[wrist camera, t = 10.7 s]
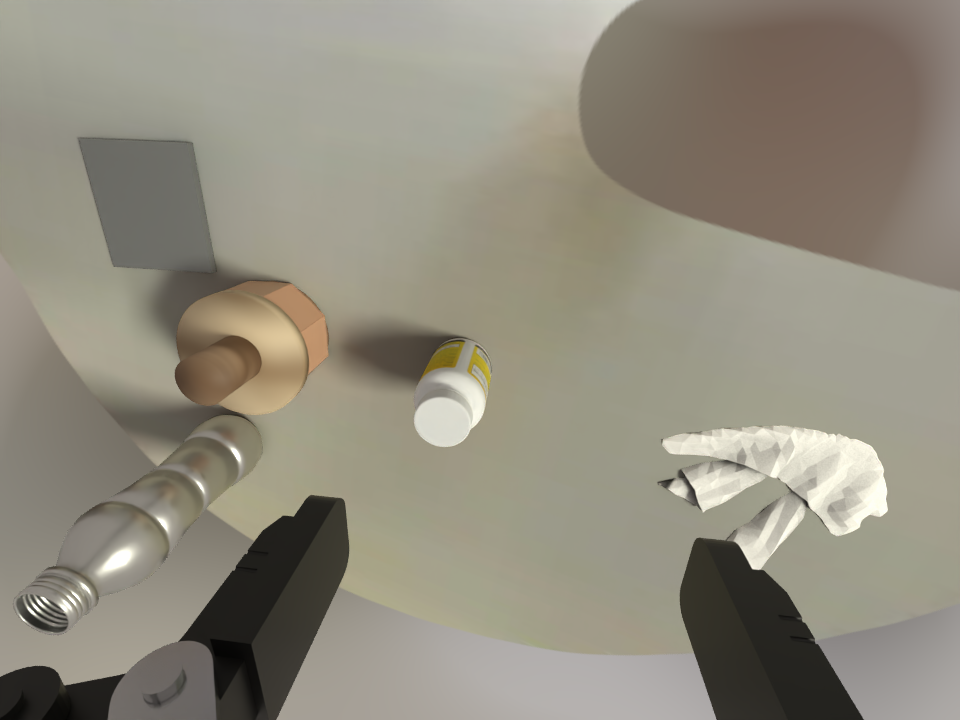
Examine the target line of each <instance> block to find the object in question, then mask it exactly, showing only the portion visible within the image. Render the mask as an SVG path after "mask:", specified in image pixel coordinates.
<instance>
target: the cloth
mask: <svg viewBox="0 0 960 720" xmlns="http://www.w3.org/2000/svg"><path fill="white" fill-rule="evenodd" d="M662 445H663V446H664V448H665V449H666V450H667V451H668V452H669V453H671V454H692V455H703V456H712V457H716V458H720V459H726V460H724V461H712V462H704V463H699V464H696V465H692V466H689V467H686V468H682V469H681V470H682V471H683V473H684V474H685V477H684V478H674V479H673V481H671V480H668V481H663V482H660V483H658V485H662V486H663V487H665V488H667V489H668V490H670V491H671V492H673V493H674V494H676V495H678V496H680V497H683V498H685V499H686V500H688V501H689V502H691V503H693V504H695V505H697V506H698V508H699V509H700V510H701V511H702V512H703V513H704V512H705V511H706V510H707V509H709V508H712V507H715V506H717V505H720V504H722V503H724V502H726V501H727V500H729V499H731V498H732V497H734V496H736V495H737V494H739V493H740V492H742V491H743V490H744V489H745V488H747V487H750V486H752V485H754V484H756V483H758V482H761V481H762V480H763V479H764V478H766V477H767V476H771V477H773V478H777V477H778V478H779V479H780V480H781V481H782V482H784V483H786V484H787V485H788V486H789V487H790V489H791V490H792V492H790V493H788V494H786V495H784V496H782V497H780V498H779V499H777V500H776V501H774V502H772V503H771V504H770V505H769V506H768V507H766V508H765V509H764V510H763V511H762V512H761V513H759V514H758V515H756V516H755V517H754V518H753V519H752V520H751V522H749V523H747V524H745V525H743V526H741V527H739V528H737V529H736V530H735V531H734V533H733V534H732V535H731V536H730V537H729V538H728V539H727V540H726V541H734V542H736V543H737V544H738V545H739V546H740V548H741V549H742V551H743V553H744V555H745V557H746V558H747V560H748V562H749V564H750V566H751V567H752V569H756V570H760V569H761V568H762V566H763V565H764V564H765V562H766V561H767V560H768V558H769V557H770V556H771V555H772V553H773V552H774V551H775V550H776V549H777V547H778V546H779V545H780V544H781V543H782V542H783V541H784V540H785V539H786V538H787V537H788V536H789V535H790V534H791V532H792V531H793V530H794V529H795V528H796V527H797V525H798V524H799V523H800V522H801V520H802V519H803V518H804V514H805V510H806V506H807V505H808V507H809V508H810V509H812V510H813V511H814V512H815V513H816V514H817V515H818V516H819V517H820V518H821V519H822V520H823V522H824V524H825V525H826V526H827V528H828V529H829V531H830V533H832V534H834V535H836V536H840V535H844V534H847V533H850V532H852V531H854V530H856V529H857V528H859V527H860V523H861V521H862V520H863V518H865V517H867V516H868V515H873V516H878V517H881V516H882V515H884V514H885V513H886V512H887V511H888V509H887V503H886V495H887V488H886V483H885V479H884V477H883V472H884V469H883V467H882V464H881V462H880V461H879V459H878V457H877V454H876V452H875V451H874V450H873V448H872V446H870V445H868V444H865V443H863V442H861V441H859V440H857V439H849V438H847V437H846V436H842V435H840V434H838V435H837V436H835V435H834V434H830V435H827V434H826V433H825V432H820V431H818V430H816V431H815V430H807V429H805V428H797V427H790V426H783V425H782V426H769V427H767V426H761V427H758V426H752V427H748V428H743V427H741V428H730V429H725V428H719V429H715V430H710V431H706V432H700V433H691V434H687V433H684V434H680V435H675V436H671V437H667V438H664V439H663V443H662Z"/></svg>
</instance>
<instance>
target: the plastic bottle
mask: <svg viewBox="0 0 960 720" xmlns="http://www.w3.org/2000/svg"><path fill="white" fill-rule="evenodd" d="M262 449H263V446H262V438H261V435H260V433H259V431H258V430H257V428H256V427H255V426H254V425H253V424H252V423H251V422H249V421H248V420H246V419H244V418H242V417H239V416H233V415H219V416H216V417H213V418H211V419H209V420H207V421H205V422H203V423H202V424H200V425H199V426H198V427H197V428H196V429H195V430H194V431H193V432H192V433H191V434H190V435H189V436H188V437H187V438H186V439H185V441H184V442H183V443H182V445H181V446H180V447H179V448H177V449H176V450H175V451H174V452H173V453H172V454H171V455H170V456H169V457H168V458H167V459H166V460H165V461H163V462H162V463H161V464H160V465H159V466H157V467H156V468H155V469H153V470H152V471H151V472H150V473H148V474H146V475H145V476H143V477H142V478H140V479H139V480H138V481H136V482H135V483H133V484H132V485H131V486H129V487H127V488H125V489H124V490H122V491H120V492H119V493H117V494H115V495H114V496H112V497H110V498H108V499H107V500H105V501H103V502H102V503H100V504H98V505H96V506H95V507H93V508H92V509H90V510H89V511H87V512H86V513H84V514H83V515H81V516H80V517H79V518H78V519H77V520H76V522H75V523H74V524H73V525H72V527H71V528H70V529H69V530H68V532H67V534H66V536H65V539H64V541H63V544H62V546H61V549H60V552H59V556H58V560H57V564H56V566H53V567H49V568H47V569H45V570H44V571H43V572H42V573H40V574H39V575H38V576H37V577H36V579H35V580H34V581H33V582H32V583H31V584H30V585H28V586H27V587H26V588H25V589H23V590H22V591H21V592H20V593H19V594H18V595H17V596H16V597H15V598H14V601H13V607H14V610H15V612H16V614H17V615H18V617H19V618H20V619H21V620H22V621H23V622H24V623H26V624H27V625H28V626H30V627H31V628H33V629H35V630H37V631H39V632H42V633H45V634H49V635H60V634H64V633H66V632H67V631H68V630H70V629H71V628H72V627H73V626H74V625H75V624H76V623H77V622H78V621H79V620H80V619H81V618H82V617H83V616H84V615H86V614H88V613H89V612H90V611H91V610H92V609H93V608H94V607H95V606H96V605H97V603H98V600H99V597H102V596H105V595H109V594H113V593H116V592H119V591H122V590H125V589H127V588H130V587H133V586H135V585H137V584H139V583H141V582H142V581H144V580H145V579H147V578H148V577H150V576H152V575H153V574H154V573H155V572H156V571H157V570H158V569H159V567H160V566H161V565H162V564H163V562H164V561H165V560H166V558H167V557H168V556H169V554H170V553H171V552H172V550H173V549H174V547H175V546H176V545H177V543H178V542H179V541H180V539H181V538H182V537H183V535H184V534H185V532H186V531H187V530H188V529H189V527H190V526H191V525H192V524H193V523H194V522H195V521H196V520H197V518H198V517H199V516H200V515H201V514H202V513H203V511H204V510H205V509H206V508H207V507H208V506H209V505H210V504H211V503H212V502H213V501H214V500H216V499H217V498H218V497H219V496H220V495H221V494H223V493H224V492H225V491H226V490H227V489H228V488H229V487H231V486H233V485H234V484H236V483H237V482H239V481H240V480H242V479H243V478H244V477H245V476H247V475H248V474H249V473H250V472H251V471H252V470H253V469H254V467H255V466H256V464H257V462H258V461H259V459H260V458H261V455H262Z"/></svg>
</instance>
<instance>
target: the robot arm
mask: <svg viewBox="0 0 960 720" xmlns="http://www.w3.org/2000/svg"><path fill="white" fill-rule="evenodd" d="M348 557H349V540H348V529H347V519H346V508H345V502H344V500H343V499H342V498H334V497H324V496H315V495H310V496H309V497H308V498H307V499H306V500H305V501H304V503H303V504H302V506H301V507H300V509H299V510H298V511H297V513H296V514H295V516H294V517H292V516H282V517H281V518H279V519H278V520H277V521H275V522H274V523H273V524H271V525H270V526H269V527H267V528H266V529H264V530H263V531H262V532H261V534H260V535H259V536H258V538H257V539H256V540H255V542H254V543H253V544H252V546H251V547H250V548H249V550H248V553H247V554H245V555H244V556H243V557H242V559H241V560H240V562H239V563H238V564H237V565H236V569H235V571H232V572H231V573H230V575H229V576H228V578H227V579H226V580H225V581H224V583H223V584H222V586H221V587H220V588H219V590H218V591H217V592H216V593H215V595H214V596H213V598H212V599H211V600H210V601H209V603H208V604H207V605H206V607H205V608H204V609H203V611H202V612H201V613H200V615H199V616H198V617H197V619H196V620H195V621H194V623H193V624H192V626H191V627H190V628H189V629H188V631H187V632H186V633H185V635H184V636H183V637H182V638H181V639H180V640H179V641H178V642H175V643H171V644H169V645H166V646H163V647H161V648H159V649H157V650H155V651H153V652H152V653H150V654H148V655H147V656H145V657H144V658H143V659H141V660H140V661H139V662H137V663H136V664H135V665H134V666H133V667H132V668H131V669H130V670H129V671H128V672H127V673H126V674H122V675H117V676H113V677H107V678H102V679H97V680H92V681H87V682H81V683H76V684H71V685H66V686H64V685H63V683H62V680H61V678H60V676H59V674H58V673H57V672H56V671H55V670H54V669H52V668H50V667H46V666H32V667H26V668H22V669H19V670H16V671H13V672H10V673H8V674H6V675H3V676H1V677H0V720H276V719H277V717H278V715H279V713H280V710H281V708H282V706H283V704H284V702H285V700H286V698H287V696H288V693H289V691H290V689H291V687H292V685H293V682H294V681H295V678H296V676H297V674H298V672H299V670H300V668H301V665H302V663H303V661H304V659H305V657H306V655H307V653H308V651H309V649H310V646H311V644H312V642H313V640H314V638H315V636H316V634H317V631H318V629H319V627H320V625H321V623H322V621H323V618H324V616H325V614H326V612H327V610H328V608H329V606H330V604H331V601H332V599H333V597H334V595H335V593H336V591H337V589H338V587H339V584H340V582H341V580H342V578H343V576H344V573H345V570H346V567H347V563H348ZM680 608H681V613H682V618H683V621H684V624H685V627H686V630H687V633H688V636H689V639H690V642H691V645H692V648H693V651H694V654H695V657H696V659H697V662H698V665H699V668H700V671H701V674H702V677H703V680H704V683H705V686H706V689H707V692H708V695H709V698H710V701H711V704H712V707H713V710H714V713H715V716H716V719H717V720H864V719H863V718H862V716H861V714H860V713H859V711H858V709H857V708H856V706H855V704H854V703H853V701H852V700H851V698H850V696H849V694H848V693H847V691H846V690H845V688H844V686H843V685H842V683H841V681H840V680H839V678H838V676H837V675H836V673H835V671H834V670H833V668H832V667H831V665H830V663H829V662H828V660H827V658H826V656H825V655H824V653H823V652H822V650H821V648H820V647H819V645H818V644H815V638H814V637H813V635H812V633H811V632H810V630H809V628H808V627H807V625H806V623H803V622H802V617H801V615H800V614H799V612H798V610H797V609H796V607H795V605H794V604H793V602H792V600H791V599H790V597H789V595H788V594H787V592H786V591H785V590H784V589H783V588H782V587H781V586H779V585H778V584H777V583H776V582H775V581H774V580H773V579H772V578H771V577H770V576H769V575H768V574H767V573H766V572H765V571H764V570H756V569H752V567H751V566H750V564H749V562H748V560H747V558H746V557H745V555H744V553H743V551H742V549H741V548H740V546H739V545H738V544H737V543H736V542H734V541H725V540H716V539H706V538H697V539H696V540H695V542H694V544H693V547H692V550H691V554H690V557H689V561H688V564H687V567H686V571H685V574H684V578H683V581H682V584H681V589H680Z"/></svg>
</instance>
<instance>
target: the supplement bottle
mask: <svg viewBox="0 0 960 720" xmlns="http://www.w3.org/2000/svg"><path fill="white" fill-rule="evenodd" d="M491 373H492V364H491V360H490V357H489V355H488V353H487V352H486V350H485V349H484V348H483V347H482V346H481V345H479V344H478V343H476V342H474V341H472V340H469V339H464V338H456V339H451V340H448V341H446V342H444V343H443V344H441V345H440V346H439V347H438V348H437V349H436V351H435V352H434V354H433V356H432V357H431V360H430V362H429V363H428V365H427V367H426V369H425V371H424V373H423V375H422V377H421V379H420V381H419V383H418V385H417V387H416V390H415V394H414V406H415V410H416V411H415V414H414V425H415V428H416V430H417V432H418V434H419V435H420V436H421V437H422V438H423V439H424V440H425V441H427V442H428V443H430V444H433V445H435V446H440V447H450V446H454V445H457V444H459V443H460V442H462V441H463V440H464V439H465V438H466V437H467V435H468V434H469V431H470V429H472V428H473V427H474V426H475V425H476V424H477V423H478V422H479V421H480V419H481V417H482V415H483V412H484V409H485V405H486V399H487V394H488V389H489V384H490V379H491Z"/></svg>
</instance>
